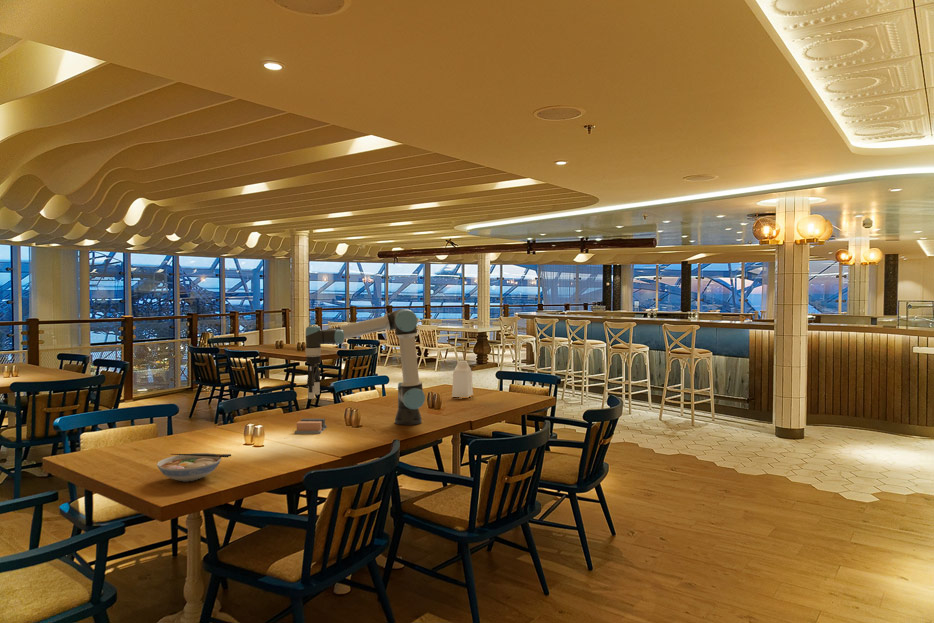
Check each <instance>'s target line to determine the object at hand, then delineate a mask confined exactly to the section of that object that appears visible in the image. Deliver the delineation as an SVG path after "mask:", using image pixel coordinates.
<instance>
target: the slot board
mask: <svg viewBox="0 0 934 623" xmlns="http://www.w3.org/2000/svg"><path fill="white" fill-rule="evenodd" d="M327 428H328V426H327V424H325V428H322V431H297V430H295V431H294V435H296V434H297V435H300V434H301V435H311V434H312V435H317V434H318V435H320V434H322V432H324V430H326V429H327Z"/></svg>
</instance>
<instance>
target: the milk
mask: <svg viewBox="0 0 934 623" xmlns="http://www.w3.org/2000/svg"><path fill="white" fill-rule="evenodd" d="M452 374H453V375H452V391H451V392H452V393H451V394H452V395H451V398H452V397H469V396H471V395H473V396H474V390H473V372H472V368H471V366H470V364H468V361H467V360H458V361H457V364H456V366H455V368H454V370H453V373H452Z"/></svg>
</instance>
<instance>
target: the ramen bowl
mask: <svg viewBox="0 0 934 623" xmlns="http://www.w3.org/2000/svg"><path fill="white" fill-rule="evenodd" d="M170 455H173V456H169V457H166V458H162V459H161V460H159V461H157V462H156V467H157V468H158V470H159V471H160V472H161V474H163V475H164V476H165V477H167V478H169V479H172V480H175V481H179V482H181V481H182V483H190V482H189V481H191V482H195V481H194V480H196V481H198V479H199V480H200V479H201V478H204V477H206V476H208V475H209V474H211V473H212V472H214V471H215V469H217V467H218V466H219V465H220V462H221V460H222V458H229V457H231V456H232V454H231V453H229V454H228V453H227V454H226V453H225V454H224V453H223V454H222V453H219V454H218V453H217V454H216V453H210V452H209V453H208V452H195V453H171V454H170Z"/></svg>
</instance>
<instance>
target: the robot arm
mask: <svg viewBox="0 0 934 623" xmlns="http://www.w3.org/2000/svg"><path fill="white" fill-rule="evenodd" d="M417 325H418V317H417V314H415V312H414V311H412V310H410V309H409V308H401V309H397V310H394V311H392V312H389V313H385V314H384V315H383V316H379V317H375V318H370V319H367V320H362V321H357V322H354V323H348V324H345V325H340V326H337V327H336V326H335V327H329V328H327V329H322V328H321V326H318V325H316V326H315V325H311V326H307V327H306V328H305V349H304V351H305V355H306V357H305V363H306V364H307V365H309V366H308V367H307V369H308V370H307V379H306V385H305V386H306V387H307V397H308V398H307V399H309V400H312V399H314V400H315V395H320V391H321V389H320V388H321V386H320V383H321V382H322V380H321V372H320V364H321V362H322V356H321V355H322V350H321V348H322V347H321V345H341V344H344V342H345V340H346V339H352V338H356V337H360V336H364V335H368V334H374V333H377V332H381V331H386V330H387V331H395V336H396V337H398V342H399V344H398V345H399V354H400V360H401V361H400V363H401V371H402V372H401V373H402V382H398V385H397V392H398V393H397V411H396V414H395V417H394V423H395V424H397V425H403V426H413V425H420V424H422V422H423V421H422V415H421V412H420V408H421V407H423V405H424V403H425V401H426V395H425V393H424V389H423V382H422V381H421V380H420V378H419V365H418V358H417V357H418V356H417V349H416V348H417V346H416V336H417V334H418V330H417V329H418V326H417Z"/></svg>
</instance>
